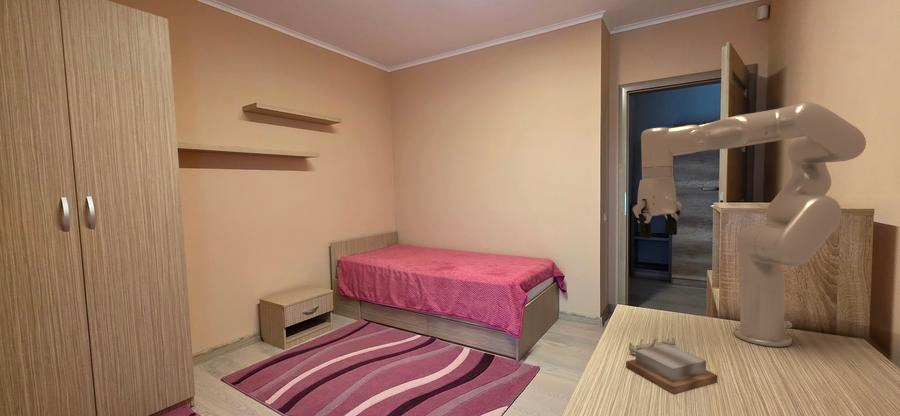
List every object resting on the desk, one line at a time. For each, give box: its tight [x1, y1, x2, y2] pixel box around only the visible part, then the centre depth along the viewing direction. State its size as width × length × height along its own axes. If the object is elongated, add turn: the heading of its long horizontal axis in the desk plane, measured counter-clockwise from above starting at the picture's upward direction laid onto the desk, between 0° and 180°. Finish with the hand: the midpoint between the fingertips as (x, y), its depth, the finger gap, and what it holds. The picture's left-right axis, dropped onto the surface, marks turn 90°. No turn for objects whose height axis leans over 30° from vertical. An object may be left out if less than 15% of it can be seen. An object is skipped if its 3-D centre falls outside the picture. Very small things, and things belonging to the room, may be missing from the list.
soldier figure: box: [628, 336, 676, 354], centre depth 99 cm, size 8×5×12 cm
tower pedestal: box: [625, 344, 718, 395], centre depth 88 cm, size 13×13×4 cm
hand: (658, 235), depth 105 cm, fingers open, 9 cm apart
